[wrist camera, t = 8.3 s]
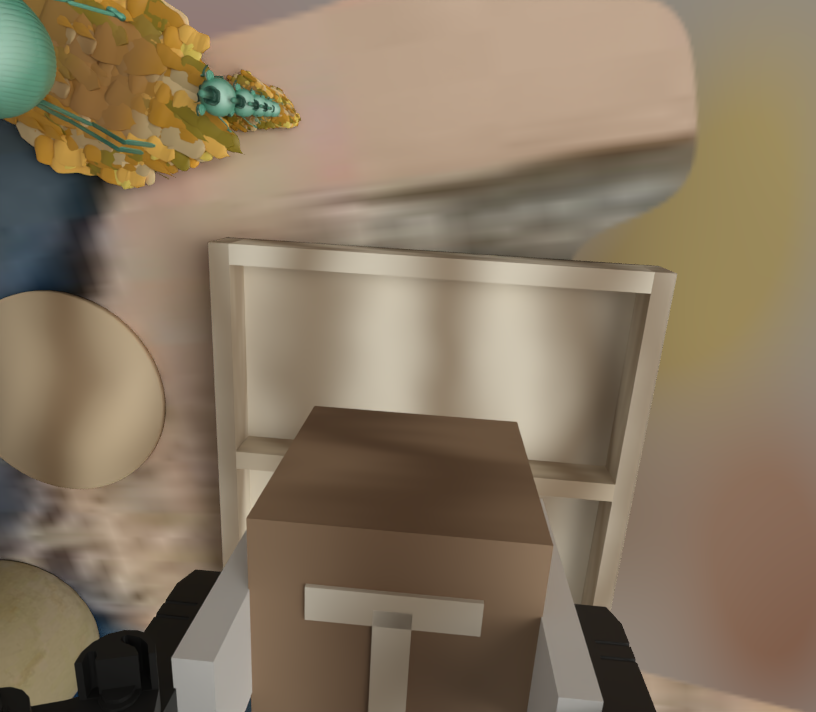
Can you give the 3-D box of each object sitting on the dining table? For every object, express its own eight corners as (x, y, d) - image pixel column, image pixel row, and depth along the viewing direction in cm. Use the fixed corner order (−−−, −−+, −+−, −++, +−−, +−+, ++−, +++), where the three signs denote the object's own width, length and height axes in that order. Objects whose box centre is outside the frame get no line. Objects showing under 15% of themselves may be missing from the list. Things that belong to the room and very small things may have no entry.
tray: (240, 602, 36) (226, 631, 34) (227, 237, 30) (207, 242, 27) (588, 637, 35) (598, 670, 33) (658, 265, 28) (677, 273, 26)
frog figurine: (261, 258, 30) (36, 308, 16) (-32, 117, 31) (-489, 46, 17) (326, 72, 27) (119, -68, 13) (-1, -77, 28) (-524, -360, 14)
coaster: (-18, 475, 35) (-24, 479, 35) (-53, 282, 32) (-61, 284, 31) (172, 493, 34) (168, 497, 34) (157, 298, 31) (153, 299, 30)
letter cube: (312, 575, 19) (251, 752, 13) (314, 406, 17) (244, 521, 11) (496, 592, 18) (518, 782, 13) (516, 421, 17) (554, 549, 11)
